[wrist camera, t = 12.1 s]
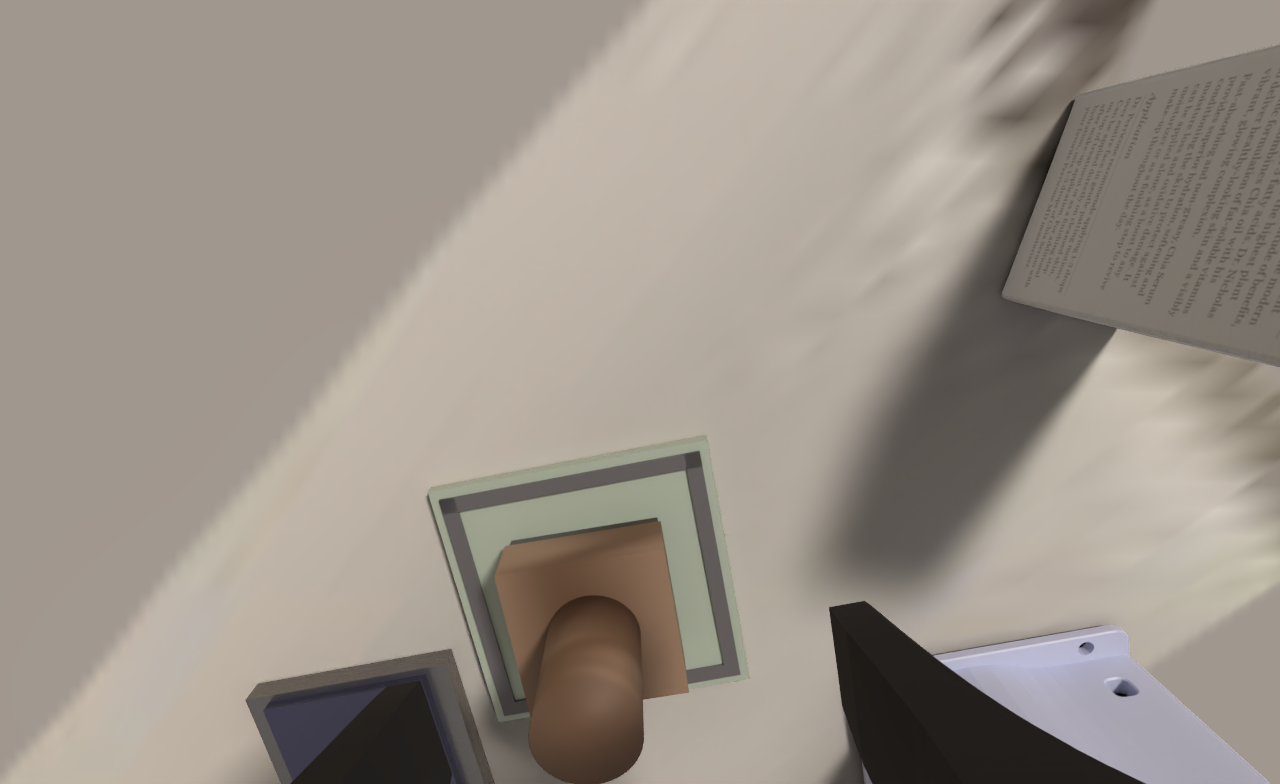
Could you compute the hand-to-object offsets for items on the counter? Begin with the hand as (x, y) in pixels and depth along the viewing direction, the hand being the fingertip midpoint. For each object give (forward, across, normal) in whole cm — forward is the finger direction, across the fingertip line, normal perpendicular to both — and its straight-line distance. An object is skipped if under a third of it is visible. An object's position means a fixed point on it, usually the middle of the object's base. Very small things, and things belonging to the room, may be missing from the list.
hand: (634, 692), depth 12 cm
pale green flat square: (+10, +2, +4) cm, 11 cm away
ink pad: (+10, +11, +9) cm, 18 cm away
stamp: (+10, +2, +4) cm, 11 cm away
